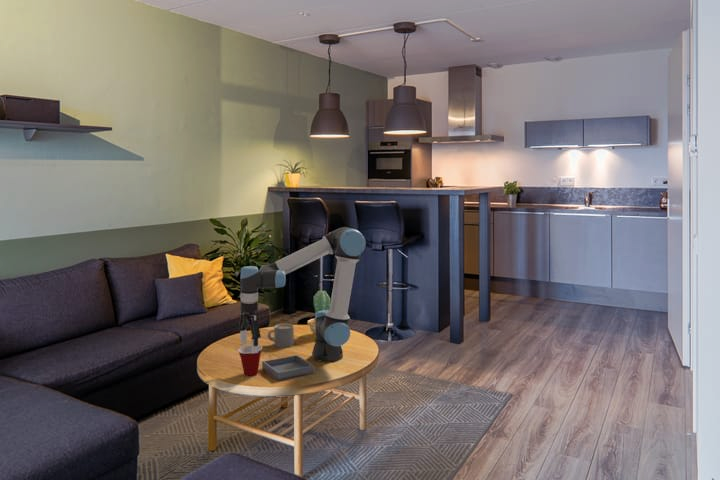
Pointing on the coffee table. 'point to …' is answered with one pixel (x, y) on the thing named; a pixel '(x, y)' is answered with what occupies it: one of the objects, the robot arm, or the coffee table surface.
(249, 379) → the coffee table surface
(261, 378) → the coffee table surface
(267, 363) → the bin
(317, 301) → the potted cactus
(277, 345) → the coffee mug
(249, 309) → the robot arm
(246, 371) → the plastic cup
